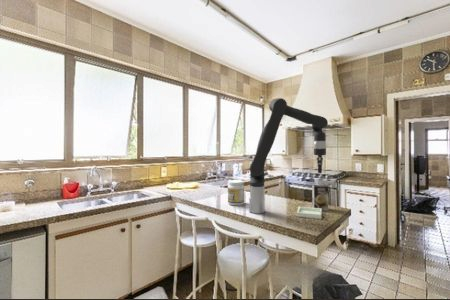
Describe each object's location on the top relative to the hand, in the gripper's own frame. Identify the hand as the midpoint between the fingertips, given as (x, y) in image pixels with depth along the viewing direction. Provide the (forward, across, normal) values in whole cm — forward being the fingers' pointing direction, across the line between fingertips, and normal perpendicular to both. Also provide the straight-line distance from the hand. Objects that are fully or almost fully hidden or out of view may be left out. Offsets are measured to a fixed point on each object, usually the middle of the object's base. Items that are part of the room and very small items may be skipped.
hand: (319, 172), depth 158 cm
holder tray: (+25, +14, -6) cm, 29 cm away
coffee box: (+25, 0, 0) cm, 25 cm away
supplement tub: (+25, +5, -58) cm, 63 cm away
